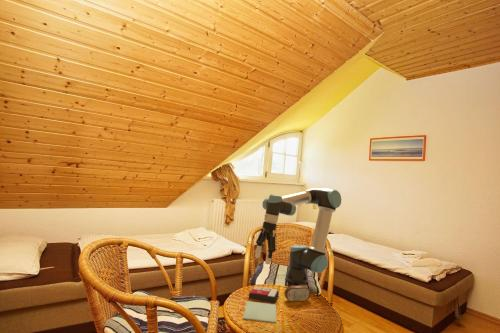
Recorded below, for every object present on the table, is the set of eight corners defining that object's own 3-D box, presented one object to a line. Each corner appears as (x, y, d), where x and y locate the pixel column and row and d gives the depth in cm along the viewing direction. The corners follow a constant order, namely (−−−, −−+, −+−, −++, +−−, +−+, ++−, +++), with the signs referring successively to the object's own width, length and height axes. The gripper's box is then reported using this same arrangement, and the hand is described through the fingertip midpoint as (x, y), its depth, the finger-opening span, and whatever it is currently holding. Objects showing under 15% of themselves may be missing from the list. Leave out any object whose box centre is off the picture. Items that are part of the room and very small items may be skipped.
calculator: (254, 285, 172) (278, 288, 167) (254, 292, 172) (278, 296, 167) (248, 292, 161) (274, 296, 157) (248, 300, 161) (274, 304, 157)
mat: (276, 305, 154) (276, 304, 154) (275, 323, 137) (276, 321, 137) (246, 302, 156) (246, 301, 156) (242, 319, 138) (242, 317, 138)
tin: (307, 299, 166) (308, 284, 166) (310, 301, 163) (311, 286, 163) (283, 300, 162) (284, 285, 162) (285, 302, 159) (286, 287, 159)
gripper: (255, 218, 170) (247, 254, 167) (274, 224, 147) (265, 266, 144) (266, 220, 173) (259, 255, 170) (287, 227, 150) (278, 268, 147)
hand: (262, 260), depth 157 cm, fingers open, 13 cm apart
